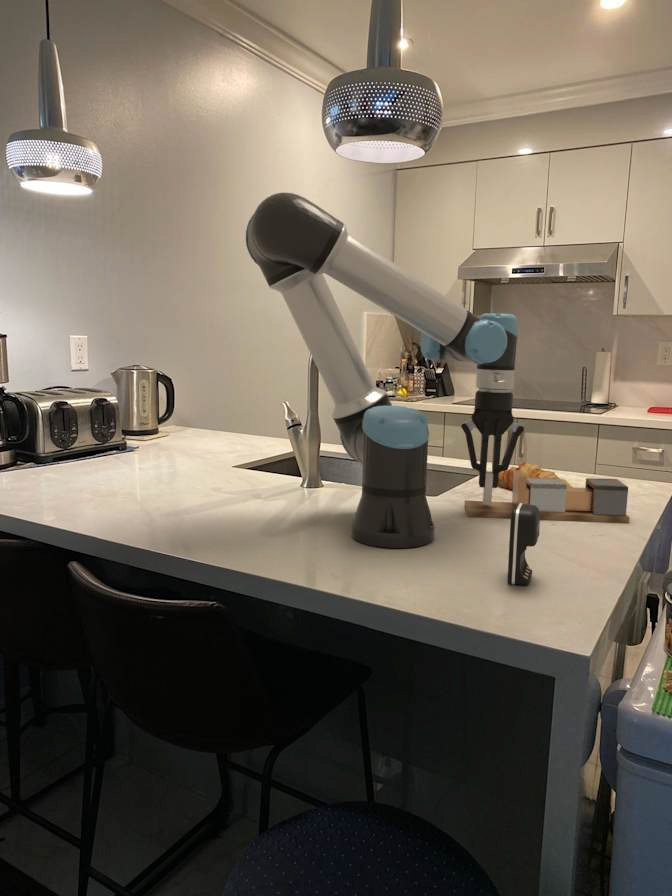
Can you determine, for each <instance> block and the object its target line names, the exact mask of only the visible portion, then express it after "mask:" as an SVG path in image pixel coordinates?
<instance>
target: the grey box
mask: <svg viewBox="0 0 672 896" xmlns="http://www.w3.org/2000/svg"><path fill="white" fill-rule="evenodd" d="M584 488H594V494H593V507H592V514H593V515H607V516H626V515H627V507H628V496H629V487H628V486H627V485H626V484H624V483H623V482H621V481H620V480H619V479H618V478H594V477H591V478H589V477H586V478H585V487H584Z"/></svg>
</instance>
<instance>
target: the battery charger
mask: <svg viewBox="0 0 672 896" xmlns="http://www.w3.org/2000/svg"><path fill="white" fill-rule="evenodd" d="M540 521H541V520H540V512H539V509H538V508H537V506H535V505H529V504H523V503H520V504H519V503H517V504H515V506H514V508H513V510H512V514H511V518H510V525H509V527H510V528H509V542H508V543H509V545H508V562H507V579H506V581H507V583H508V584H511V585H519V586H520V585H522V586H523V585H524V586H525V585H529V584H530V583H531V580H532V575H533V570H532V569H531V568H530V566H529V564H528V563H527V558H526V551H527V548H528V547H529V548H531V547H532V548H533V547H535V546H536V544H537V543H538V540H539V537H540V527H541V525H540V523H541V522H540Z"/></svg>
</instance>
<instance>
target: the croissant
mask: <svg viewBox="0 0 672 896" xmlns="http://www.w3.org/2000/svg"><path fill="white" fill-rule="evenodd" d="M514 470H521V471H522V472H523V473H524V475H525V476H526V478H553V479H561V480H562V481H563V482H564V483H565V484H566V485H567V487H573V486H572V485H571V484H570V483H569V482H568V481H567V480H565V479H564V478H563V479H562V478H560V477H559V476H558V475H557V474H556V472H554V471H549V470H544V469H542V468H541V467H540V466H538V465H536V464H532V463H531V462H530V463H529V462H522V463H521V464H519V465H518V467H515V466H511V467H509V468H508V470H506V471H501V472H500V473H499V475H498V486H499V487H502V488H504V489H508V490H511V491H513V477H514Z"/></svg>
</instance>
